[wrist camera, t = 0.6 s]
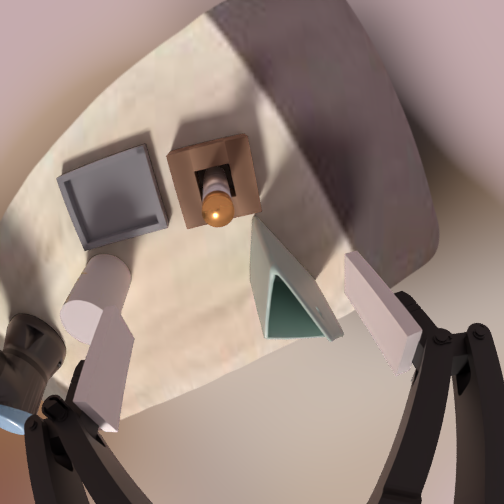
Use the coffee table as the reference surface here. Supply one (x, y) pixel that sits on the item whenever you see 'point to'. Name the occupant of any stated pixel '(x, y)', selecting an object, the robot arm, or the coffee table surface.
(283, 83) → the coffee table surface
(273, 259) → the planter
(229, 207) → the pin
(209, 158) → the block
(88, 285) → the white cylinder
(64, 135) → the coffee table surface
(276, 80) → the coffee table surface
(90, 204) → the tray
